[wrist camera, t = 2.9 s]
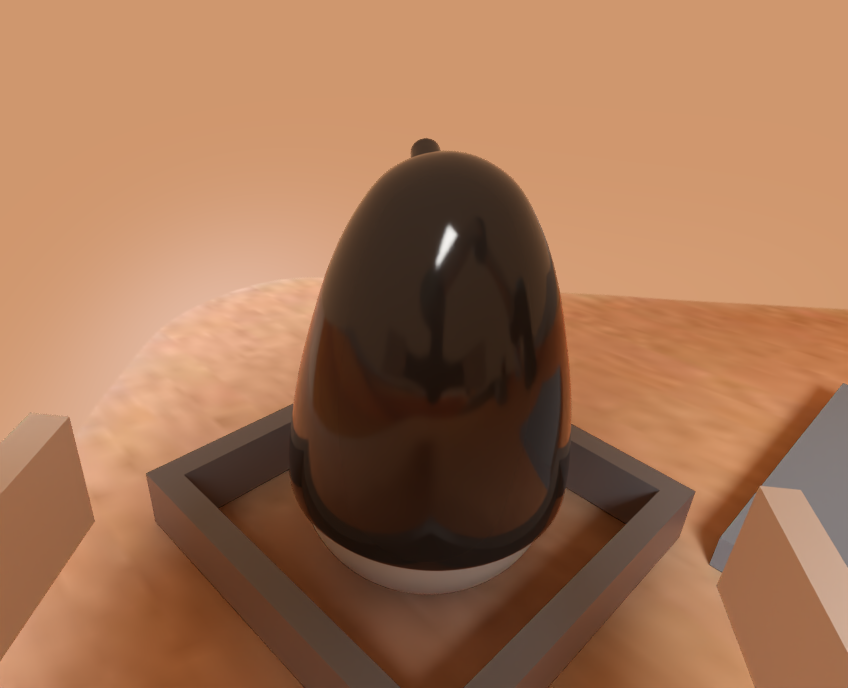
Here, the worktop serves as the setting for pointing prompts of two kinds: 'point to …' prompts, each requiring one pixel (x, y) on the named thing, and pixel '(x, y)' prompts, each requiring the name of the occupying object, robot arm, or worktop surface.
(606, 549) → the gray open frame
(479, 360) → the dark brown egg shape
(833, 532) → the slate-blue board
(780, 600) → the robot arm
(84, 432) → the worktop surface
